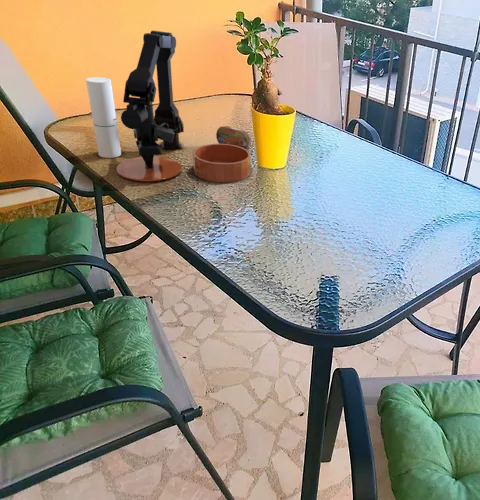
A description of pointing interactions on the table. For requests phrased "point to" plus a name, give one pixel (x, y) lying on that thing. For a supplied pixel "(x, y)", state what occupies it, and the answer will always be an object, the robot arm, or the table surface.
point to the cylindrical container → (104, 116)
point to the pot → (221, 162)
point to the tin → (233, 137)
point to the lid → (149, 169)
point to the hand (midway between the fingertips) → (149, 166)
